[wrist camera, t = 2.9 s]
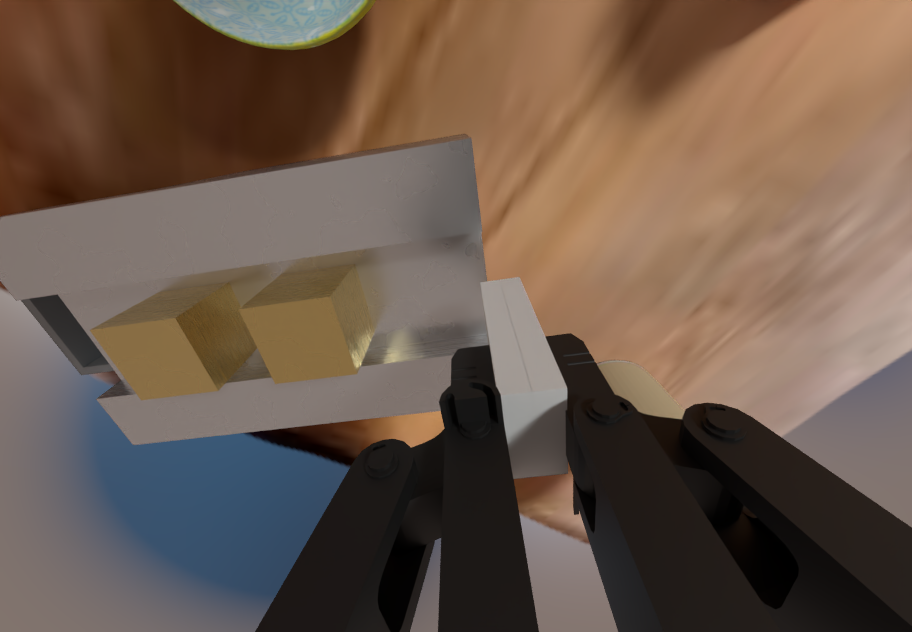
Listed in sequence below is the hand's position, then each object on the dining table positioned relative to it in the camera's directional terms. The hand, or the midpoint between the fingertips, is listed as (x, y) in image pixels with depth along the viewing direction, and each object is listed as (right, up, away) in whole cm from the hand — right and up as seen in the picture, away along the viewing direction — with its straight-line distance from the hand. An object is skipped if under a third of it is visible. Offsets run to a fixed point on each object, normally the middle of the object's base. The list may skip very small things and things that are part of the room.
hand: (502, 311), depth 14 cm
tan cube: (-8, 0, +3) cm, 8 cm away
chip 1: (-14, 0, +3) cm, 14 cm away
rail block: (-10, +4, +11) cm, 16 cm away
